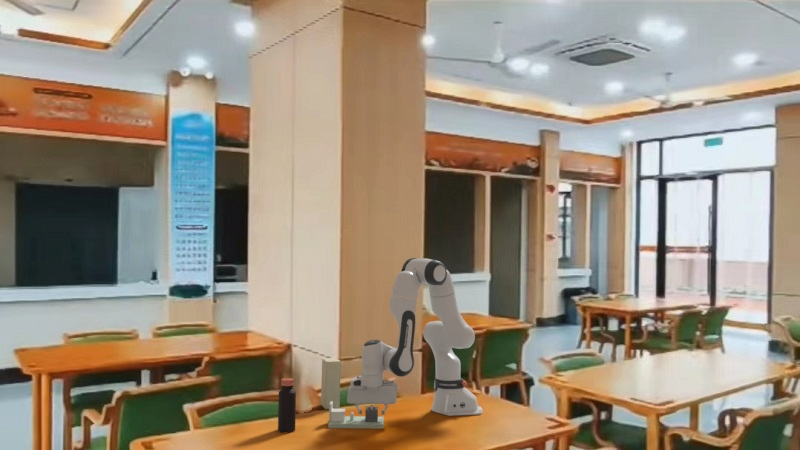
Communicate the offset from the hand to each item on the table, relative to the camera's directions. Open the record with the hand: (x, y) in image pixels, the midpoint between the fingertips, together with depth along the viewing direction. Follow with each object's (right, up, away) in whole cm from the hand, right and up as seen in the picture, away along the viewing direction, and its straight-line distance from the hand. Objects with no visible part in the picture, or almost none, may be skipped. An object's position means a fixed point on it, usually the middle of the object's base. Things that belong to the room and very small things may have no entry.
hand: (371, 414), depth 271 cm
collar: (0, -3, 0) cm, 2 cm away
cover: (-14, -2, 0) cm, 14 cm away
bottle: (-33, -4, -10) cm, 35 cm away
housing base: (-6, -4, 0) cm, 7 cm away
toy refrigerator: (-19, -4, +27) cm, 33 cm away
